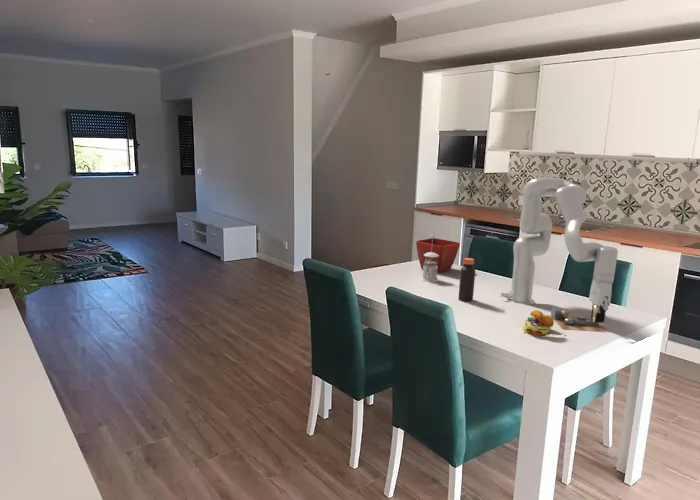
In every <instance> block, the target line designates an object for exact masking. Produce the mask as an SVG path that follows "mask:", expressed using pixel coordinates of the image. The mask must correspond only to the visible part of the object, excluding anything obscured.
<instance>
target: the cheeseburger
mask: <svg viewBox="0 0 700 500" xmlns="http://www.w3.org/2000/svg"><path fill="white" fill-rule="evenodd" d="M529 315H530V316H531V317H530V316H528V317H527V318H526V320H525V321H524V323H523V324H522V325H523V326H522V331H523V333H524V334H530V335H534V336H539V337H545V336H547V335H548V333H549V332H550V330H551V328H552V327H553V326H554V324H555V323H554V322H555V321H554V320H553V318H552V317H551V315H549V314H547V315H546V314H544V313H543V312H542V311H540V310H538V309H534V310H533V311H531V312H530V313H529Z"/></svg>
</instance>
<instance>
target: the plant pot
mask: <svg viewBox="0 0 700 500" xmlns="http://www.w3.org/2000/svg"><path fill="white" fill-rule="evenodd" d="M460 244H461V243H460V242H458V241H451V240H447V239H442V238H437V237H433V242H432V237H431V238H426V239H425V238H424V239H419V240H415V245H416V251H417V253H416V254H417V258H418V262H419V264H420V268H421V269H422V270H423V265H424V262H425V260H426V261H428V260H429V259H430V261H435V262H437V264H436V265H438V269H436V270H437V271H436V272H437V274H438V273H439V274H440V273H443V272H448V271H450V270H451V269H452V267H453V265H454V263H455V259H456V257H457V255H458V252H459V248H460ZM431 250H432V252H433V253H436V254H438V255H439V256H438V257H434V258H431V257H425V256H424V254H426V253H429V252H431ZM427 269H428V268H427Z"/></svg>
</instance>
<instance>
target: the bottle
mask: <svg viewBox="0 0 700 500" xmlns="http://www.w3.org/2000/svg"><path fill="white" fill-rule="evenodd" d="M474 264H475V259H474V258H472V257H464V258H463V264H462V265H463V266H462V267H461V268H460V273H459V275H460V276H459V287H458V301H462V302H465V303H466V302H467V303H469V302H472V301H474V292H475V291H474V289H475V278H476V269H475V267H474V266H475V265H474Z"/></svg>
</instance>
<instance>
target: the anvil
mask: <svg viewBox="0 0 700 500" xmlns="http://www.w3.org/2000/svg"><path fill="white" fill-rule="evenodd" d="M550 311H551V313H550V316H551V317H552V318H553V319H554V320H560V318H561V311H562V310H561V309H560V308H559V307H558V306H551V310H550Z"/></svg>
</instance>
